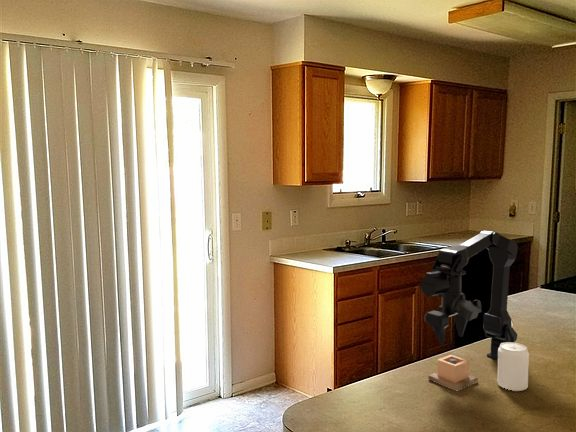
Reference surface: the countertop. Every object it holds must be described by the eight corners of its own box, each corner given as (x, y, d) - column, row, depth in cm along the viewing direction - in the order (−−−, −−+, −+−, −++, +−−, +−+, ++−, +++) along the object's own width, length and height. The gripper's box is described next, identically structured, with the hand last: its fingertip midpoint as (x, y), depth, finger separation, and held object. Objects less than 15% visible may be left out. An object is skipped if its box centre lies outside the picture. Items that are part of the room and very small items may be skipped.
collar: (450, 370, 158) (450, 354, 158) (468, 377, 153) (469, 360, 153) (437, 375, 155) (437, 359, 154) (455, 382, 150) (455, 366, 149)
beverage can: (510, 394, 145) (510, 353, 143) (491, 382, 152) (492, 343, 151) (534, 390, 147) (535, 349, 146) (514, 379, 155) (515, 340, 153)
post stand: (449, 371, 161) (449, 351, 160) (477, 382, 153) (477, 361, 152) (428, 380, 155) (428, 359, 155) (456, 391, 147) (456, 369, 147)
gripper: (455, 301, 144) (455, 355, 146) (493, 289, 155) (492, 339, 157) (423, 294, 153) (423, 345, 155) (461, 283, 164) (461, 330, 166)
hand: (451, 340), depth 158 cm, fingers open, 9 cm apart
